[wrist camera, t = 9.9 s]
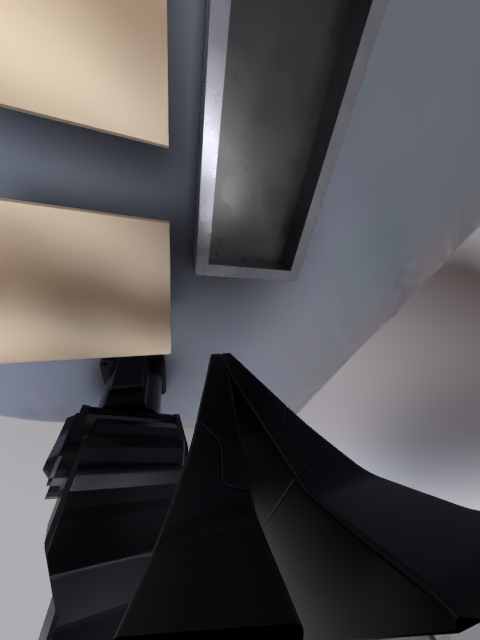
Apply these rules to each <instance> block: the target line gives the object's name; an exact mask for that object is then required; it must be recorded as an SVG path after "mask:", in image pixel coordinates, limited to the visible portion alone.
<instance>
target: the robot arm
mask: <svg viewBox="0 0 480 640" xmlns="http://www.w3.org/2000/svg"><path fill="white" fill-rule="evenodd" d="M160 359H161V360H160ZM104 362H107V363H104ZM100 367H101V371H102V375H103V379H104V383H105V388H104V391H103V394H102V397H101V401H100V404H99V407H98V408H97V407H90V406H88V405H82V408H81V410H80V413H76V415H74V416H71V417H68V418H67V419H66V421H65V424H64V426H63V428H62V431H61V433H60V435H59V437H58V439H57V441H56V443H55V445H54V447H53V449H52V451H51V453H50V455H49V457H48V459H47V461H46V463H45V466H44V468H43V471H44V473H45V474H46V476H47V478H48V479H49V480H48V482H47V485H46V486H50V487H49V490H48V492H47V495H46V497H45V499H54V498H57V501H56V504H55V507H54V509H53V512H52V515H51V517H50V520H49V523H48V528H47V533H46V539H45V553H46V559H47V564H48V571H49V577H50V583H51V588H52V595H53V596H52V599H51V602H50V605H49V608H48V611H47V614H46V618H45V621H44V624H43V627H42V630H41V633H40V636H39V639H38V640H480V511H477V510H472V509H469V508H465V507H462V506H459V505H456V504H454V503H451V502H448V501H445V500H443V499H440V498H437V497H434V496H431V495H428V494H426V493H423V492H420V491H417V490H414V489H412V488H409V487H406V486H403V485H401V484H398V483H395V482H392V481H390V480H386V479H384V478H381V477H379V476H376V475H374V474H372V473H370V472H368V471H367V470H365V469H363V468H362V467H360V466H359V465H357V464H356V463H355V462H353V461H352V460H351V459H350V458H348V457H347V456H346V455H344V454H343V453H342V452H341V451H339V450H338V449H337V448H336V447H334V446H333V445H332V444H331V443H329V442H328V441H326V440H325V439H324V438H323V437H322V436H320V435H319V434H318V433H317V432H315V431H314V430H313V429H312V428H311V427H309V426H308V425H307V424H306V423H305V422H304V421H303V420H301V419H300V418H299V417H298V416H297V415H296V414H295V413H294V412H293V411H292V410H290V409H289V408H288V407H287V406H286V405H285V404H284V403H283V402H282V401H281V400H280V399H279V398H278V397H276V396H275V395H274V394H273V393H272V392H271V391H270V390H269V389H268V388H267V387H266V386H265V385H264V384H263V383H262V382H260V381H259V380H258V379H257V378H256V377H255V376H254V375H253V374H252V373H251V372H250V371H249V370H248V369H247V368H246V367H244V366H243V365H242V364H241V363H240V362H239V361H238V360H237V359H236V358H235V357H234V356H233V355H232V354H230V353H222V354H211V357H210V361H209V366H208V370H207V375H206V379H205V384H204V389H203V393H202V398H201V402H200V407H199V411H198V416H197V421H196V425H195V429H194V434H193V438H192V442H191V445H190V449H189V452H188V445H187V441H186V437H185V434H184V430H183V427H182V423H181V419H180V416H179V414H173V415H170V414H160V406H161V394H164V393H165V392H166V375H165V356H164V355H147V356H130V357H112V358H103V359H101V361H100Z"/></svg>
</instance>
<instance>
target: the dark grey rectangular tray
mask: <svg viewBox="0 0 480 640" xmlns="http://www.w3.org/2000/svg"><path fill="white" fill-rule="evenodd" d="M387 3H388V0H206V1H205V22H204V43H203V64H202V85H201V107H200V128H199V149H198V170H197V191H196V212H195V233H194V254H193V268H194V271H195V275H203V276H219V277H235V278H251V279H266V280H282V281H297V278H298V275H299V272H300V269H301V266H302V263H303V260H304V257H305V254H306V251H307V248H308V245H309V241H310V238H311V235H312V232H313V229H314V226H315V223H316V220H317V217H318V214H319V211H320V208H321V205H322V202H323V199H324V196H325V193H326V189H327V186H328V183H329V180H330V177H331V174H332V171H333V168H334V165H335V162H336V159H337V156H338V153H339V150H340V147H341V144H342V141H343V138H344V134H345V131H346V128H347V125H348V122H349V119H350V116H351V113H352V110H353V107H354V104H355V101H356V98H357V95H358V92H359V89H360V86H361V82H362V79H363V76H364V73H365V70H366V67H367V64H368V61H369V58H370V55H371V52H372V49H373V46H374V43H375V40H376V37H377V34H378V30H379V27H380V24H381V21H382V18H383V15H384V12H385V9H386V6H387Z"/></svg>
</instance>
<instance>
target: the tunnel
mask: <svg viewBox="0 0 480 640" xmlns="http://www.w3.org/2000/svg"><path fill="white" fill-rule="evenodd" d="M0 107H3V108H7V109H11V110H15V111H19V112H23V113H27V114H31V115H35V116H39V117H43V118H47V119H51V120H55V121H59V122H63V123H67V124H71V125H75V126H80V127H84V128H88V129H92V130H96V131H100V132H104V133H108V134H112V135H116V136H120V137H124V138H128V139H132V140H136V141H140V142H144V143H148V144H152V145H156V146H160V147H164V148H168V149H169V126H168V39H167V0H0ZM160 354H171V295H170V221H163V220H156V219H149V218H142V217H135V216H128V215H121V214H114V213H107V212H99V211H92V210H85V209H78V208H71V207H64V206H57V205H50V204H43V203H35V202H28V201H21V200H14V199H7V198H0V364H2V363H19V362H37V361H54V360H72V359H89V358H107V357H125V356H142V355H160Z"/></svg>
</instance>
